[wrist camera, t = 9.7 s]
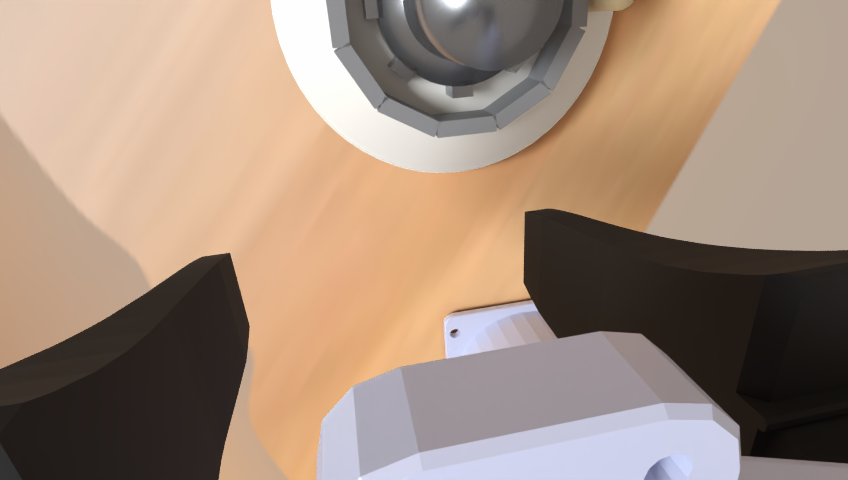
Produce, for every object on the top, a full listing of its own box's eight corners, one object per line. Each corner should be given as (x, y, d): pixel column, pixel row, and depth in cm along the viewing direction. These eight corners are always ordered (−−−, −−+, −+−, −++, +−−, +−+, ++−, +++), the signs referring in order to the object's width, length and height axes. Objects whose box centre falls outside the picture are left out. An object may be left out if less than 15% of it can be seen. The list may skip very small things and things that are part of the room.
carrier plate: (591, 148, 23) (627, 166, 20) (305, 183, 21) (302, 207, 18) (618, -217, 17) (673, -262, 14) (234, -212, 15) (215, -261, 13)
